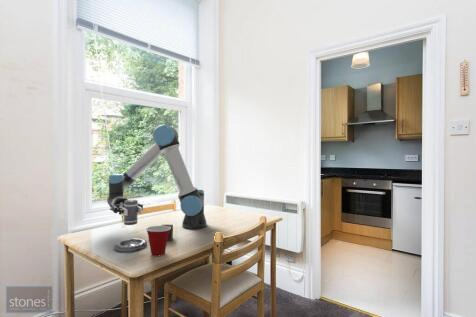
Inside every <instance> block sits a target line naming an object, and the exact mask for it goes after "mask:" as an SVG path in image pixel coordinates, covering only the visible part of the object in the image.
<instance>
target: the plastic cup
mask: <svg viewBox="0 0 476 317" xmlns="http://www.w3.org/2000/svg"><path fill="white" fill-rule="evenodd" d="M145 229H146V230H145V231H146V232H147V237H148V241H149V242H148V243H149V248H150V253H151V256H153V257H159V255H160V256H163V255H165V254H164V253H165V252H166V247H167V244H168V241H167V239H168V234H169V231H170V229H171V227H168V226H161V225H152V226H148V227H146V228H145Z"/></svg>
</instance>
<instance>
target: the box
mask: <svg viewBox="0 0 476 317" xmlns="http://www.w3.org/2000/svg"><path fill="white" fill-rule="evenodd" d="M160 226H168V227H171V229H170V231H169V234H168V239H167V242H169V241H170V242H172V240H173V238H174V224H161V225H160Z"/></svg>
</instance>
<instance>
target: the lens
mask: <svg viewBox="0 0 476 317" xmlns="http://www.w3.org/2000/svg"><path fill="white" fill-rule="evenodd" d="M138 203H139V202H138V200H137V199H128V200H126V201H124V208H125V209H127V210H128V216H125V215H124V214H123V224H124V225H125V226H134V225H136V224H138V212H137V209H138Z"/></svg>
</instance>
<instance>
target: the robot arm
mask: <svg viewBox="0 0 476 317" xmlns="http://www.w3.org/2000/svg"><path fill="white" fill-rule="evenodd" d="M152 139H153V140H154V144H153V143H152V145H151V146H150V147H149V148H148V149H147V150H146V151H145V152H144V153H143V154H142V155H141V156H140V157H139V158H138V159H137V160H136V161H135V162H134V163H133V164H132V165H131V166H130V167H129V168H128V169H127V170H126V171H125V172H124V173H123V174H122V173H112V174H109V176H108V197H107V200H106V201H107V204H108V206H109V210H110V211H112V212H113V213H114V214H118V215H121V216H122V215H123V216H124V215H125V216H128V210H127V209H125V208H124V201H126V200H129V199H128V198H126V197H124V189H127V188H129V187H131V186H132V185H133V184H134V182H136V180H137V179H138V178H139V177H140V176H141V175H142V174H143V173H144V172H145V171H146V170H147V169H148V168H149V167H150V166H151V165H152V164H153V163H154V162H155V161H156V160H157V159H158V158H159V157H160V156H161V155H162V154H164V157H165V159H166V162H167V165H168V167H169V169H170V170H169V171H170V172H171V174H172V177H173V180H174V182H175V186H176V187H177V190H178V195H177V197H178V199H179V202H180V204H179V205H180V210H181V211H182V213H183V214H184V217H183V220H182V224H181V225H182V226H181V227H182V228H184V229H187V230H188V229H189V230H199V229H204V228H206V227H207V219H206V216H205V190H203V189H198V188H197V187H195V186H194V184H193V182H192V179H191V177H190V175H189V173H188V170H187V166H186V164H185V162H184V159H183V156H182V154H181V152H180V148H179V147H180V140H179V134H178V131H177V130H176V129H175V128H173V127H172V126H170V125H168V124H160V125H158V126H156V127H155V128H154V130H153V132H152ZM143 211H144V205H143V204H141V203H139V202H138V209H137V214H143Z"/></svg>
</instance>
